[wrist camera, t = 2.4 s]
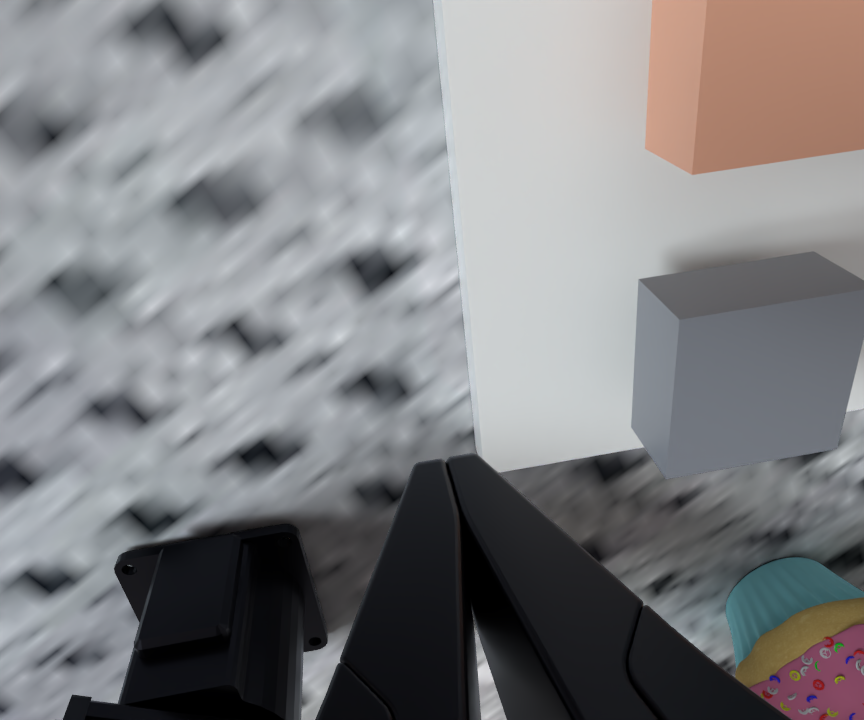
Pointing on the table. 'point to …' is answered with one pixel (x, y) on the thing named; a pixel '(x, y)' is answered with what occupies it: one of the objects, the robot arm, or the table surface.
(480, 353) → the button board
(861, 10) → the terracotta button
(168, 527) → the table surface
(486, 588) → the robot arm
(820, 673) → the cupcake
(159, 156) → the table surface
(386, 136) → the table surface
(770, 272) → the charcoal button
